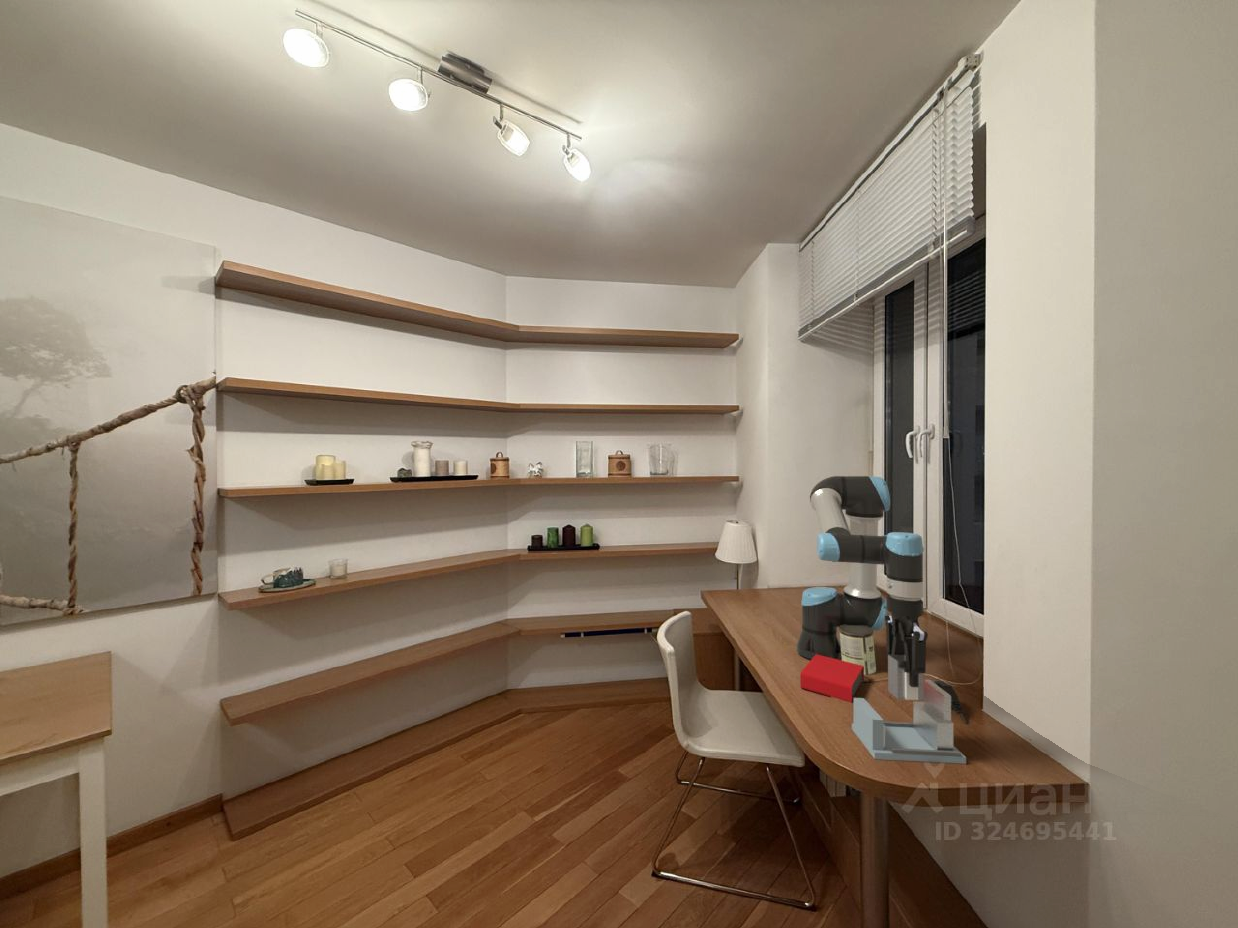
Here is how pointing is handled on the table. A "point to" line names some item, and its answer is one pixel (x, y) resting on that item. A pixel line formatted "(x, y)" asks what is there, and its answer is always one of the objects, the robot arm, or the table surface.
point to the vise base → (896, 738)
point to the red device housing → (832, 677)
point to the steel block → (900, 677)
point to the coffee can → (858, 646)
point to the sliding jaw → (934, 717)
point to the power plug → (952, 698)
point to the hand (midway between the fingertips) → (905, 693)
